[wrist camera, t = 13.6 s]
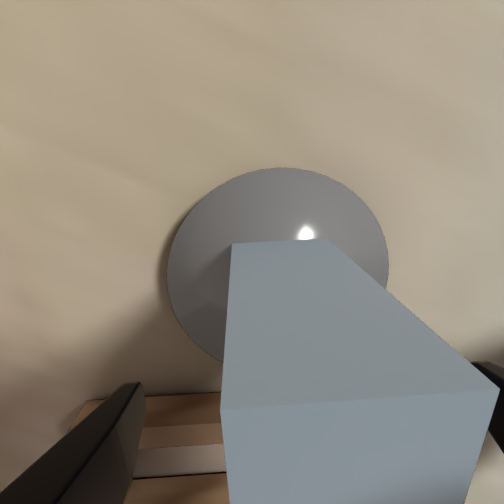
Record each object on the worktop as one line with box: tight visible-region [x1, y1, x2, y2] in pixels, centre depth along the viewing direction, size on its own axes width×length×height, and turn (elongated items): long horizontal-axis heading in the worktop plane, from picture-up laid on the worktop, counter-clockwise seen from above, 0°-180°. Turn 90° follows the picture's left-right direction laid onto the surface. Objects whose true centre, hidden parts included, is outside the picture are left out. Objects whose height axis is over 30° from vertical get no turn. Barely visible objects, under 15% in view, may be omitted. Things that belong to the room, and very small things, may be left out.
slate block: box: [220, 238, 500, 504], centre depth 9 cm, size 4×4×9 cm
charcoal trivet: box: [167, 168, 389, 362], centre depth 14 cm, size 11×11×1 cm
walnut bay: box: [67, 393, 230, 504], centre depth 17 cm, size 8×8×2 cm
